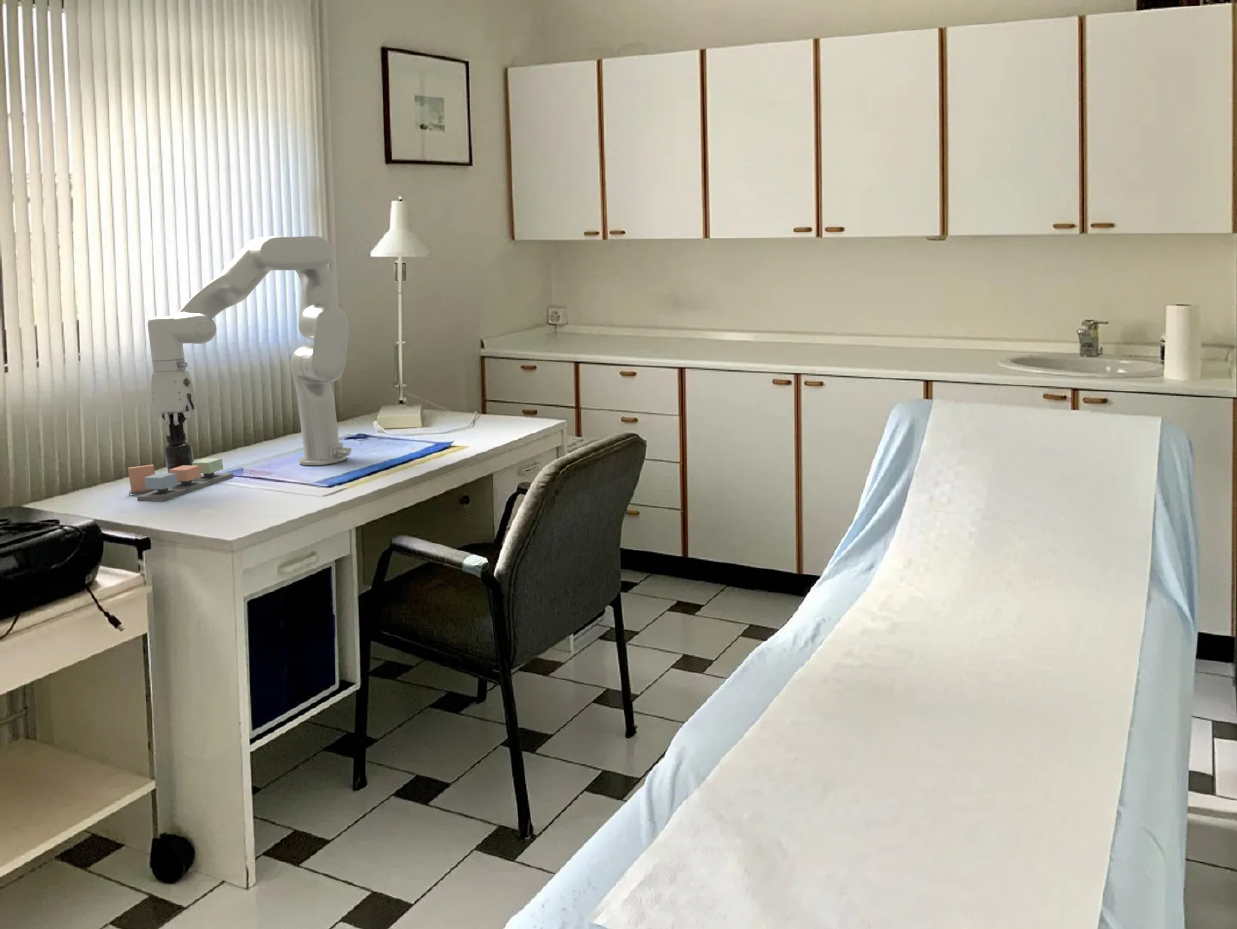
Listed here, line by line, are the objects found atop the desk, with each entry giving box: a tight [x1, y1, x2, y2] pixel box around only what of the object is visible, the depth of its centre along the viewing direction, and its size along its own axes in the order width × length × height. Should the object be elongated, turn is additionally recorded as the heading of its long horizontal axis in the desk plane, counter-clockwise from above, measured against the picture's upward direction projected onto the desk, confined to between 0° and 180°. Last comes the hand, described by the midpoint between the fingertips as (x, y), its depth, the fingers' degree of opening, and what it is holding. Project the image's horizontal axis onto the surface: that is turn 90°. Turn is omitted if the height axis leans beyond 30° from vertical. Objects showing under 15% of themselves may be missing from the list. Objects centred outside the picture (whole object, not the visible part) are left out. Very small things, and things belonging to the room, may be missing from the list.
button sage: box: [192, 457, 224, 476], centre depth 302 cm, size 5×5×4 cm
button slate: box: [145, 472, 179, 492], centre depth 287 cm, size 5×5×4 cm
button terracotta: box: [169, 465, 202, 484], centre depth 294 cm, size 5×5×4 cm
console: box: [136, 472, 235, 502], centre depth 295 cm, size 8×26×1 cm, turn 159°
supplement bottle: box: [163, 432, 195, 473], centre depth 306 cm, size 7×7×12 cm
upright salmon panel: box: [127, 464, 157, 495], centre depth 293 cm, size 4×7×7 cm, turn 112°
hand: (177, 439), depth 292 cm, fingers closed
